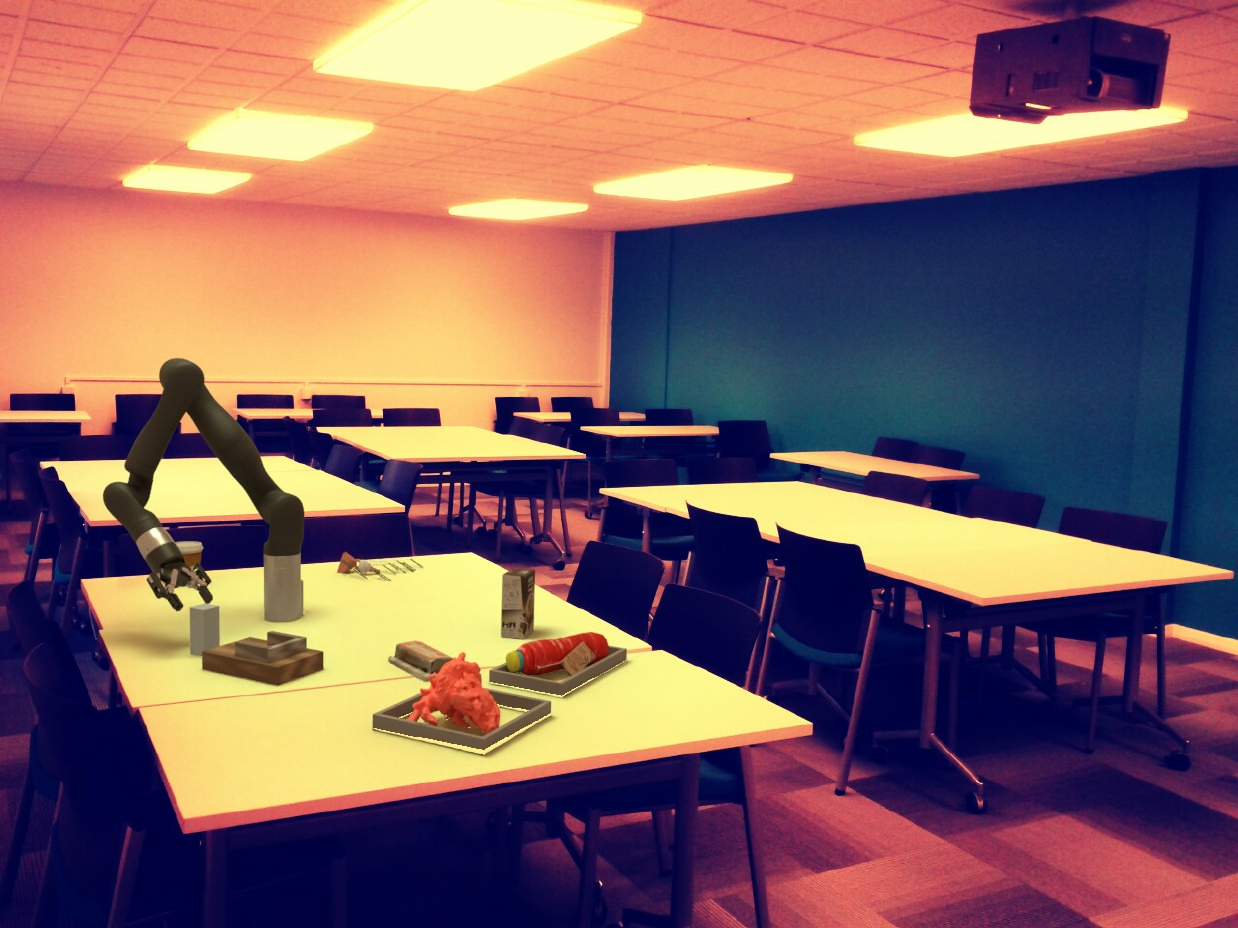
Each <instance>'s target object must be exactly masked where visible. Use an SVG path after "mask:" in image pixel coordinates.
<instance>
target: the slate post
mask: <svg viewBox="0 0 1238 928" xmlns="http://www.w3.org/2000/svg"><path fill="white" fill-rule="evenodd" d="M220 630H221V629H220V605H217V604H211V603H209V604H206V603H205V602H204V603H202V604H197V605H194V606H190V607H189V646H190V647H189V649H190V650H189V653H190V655H193V654H194V655H195V656H197V655H200V656H199V657H202V651H205V650H209V649H212V648H215V647H218V646H221V645H220V638H221V637H220V636H221V635H220V632H221V631H220ZM194 655H193V656H194Z"/></svg>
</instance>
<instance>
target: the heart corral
mask: <svg viewBox="0 0 1238 928" xmlns="http://www.w3.org/2000/svg"><path fill="white" fill-rule="evenodd" d="M485 688H486V690H488V691H489V693H490V694H491V695H492V696H493V699H494V701H495V702H496V703H497V704H499V705H503V706H507V707H512V708H521V709H526V710H529V711H527V712H523V713H522V714H520V715H518V716H516V717H515V718H514V719H511V720H509V721H507V722H506V723H504V724H502V725H501V726H500V725H499V728H497V729H495V730H493V731H491V732H490V733H488V734H486V735H484V734H483V736H481V735H476V734H473V733H467V732H464V731H460V730H459V731H458V730H454V729H450V728H446V727H441V726H438V727H437V726H433V725H431V724H429V723H425V722H424V723H423V722H419V721H417V722H415V721H410V720H408V719H405V718H399V717H401V716H404V715H406V714H409V713H411V712H413V711H414V709H413V704H414V703H417V702H419V701H420V700H421V699H422V697H421V696H420V694H422V692H419V693H417V694H414V695H412V696H410V697H407V698H406V699H403V700H401V701H399V702H397V703H395V704H392V705H389V706H388V707H386V708H383V709H382V710H379V711H377V712H374V713H373V714H372V729H373V728H377V729H381V730H386V731H390V732H395V733H400V734H404V735H408V736H413V737H422V738H428V739H433V740H437V741H442V742H447V743H451V744H457V745H462V746H467V747H471V748H476V749H482V750H485V749H486V748H488V747H490V746H491V745H493V744H495V743H497V742H498V741H500V740H502V739H504V738H505V737H509V736H510V735H512V734H514V733H515V732H517V731H519V730H520V729H522V728H524V727H526V726H528V725H530V724H532V723H533V722H535V721H538V720H539V719H541V718H543V717H544V716H547V715H548V714H550V713H551V714H552V701H550V700H548V699H546V700H545V699H542V698H536V697H531V696H528V695H527V696H526V695H522V694H517V693H512V692H508V691H507V692H506V691H501V690H497V689H491V688H487V687H485Z"/></svg>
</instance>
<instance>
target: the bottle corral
mask: <svg viewBox="0 0 1238 928" xmlns="http://www.w3.org/2000/svg"><path fill="white" fill-rule="evenodd" d="M559 638H562V637H559ZM627 651H628V649H627V648H624V647H619V646H613V645H609V653H608V656H607V657H605V658H604V659H602V660H600V661H598V662H596V663H594V664H593V665H591V666H588V667H584V668H583V669H582V670H581V671H580V672H578V673H576V674H574V675H572V676H569V677H567V678H564V679H563V680H561V681H557V680H553V679H552V680H550V679H546V678H540V677H536V676H528V675H525V674H520V673H519V672H518V671H516V672H518V673H519V674H518V673H516V672H511V671H509V670H508V668H507V665H506V662H503V663H502V664H500V665H498V666H495V667H494V668H491V669H489V675H488V681H489V682H493V683H498V684H504V685H508V686H514V687H519V688H524V689H530V690H534V691H539V692H545V693H550V694H556V695H561V696H562V695H564V694H565V693H567V692H569V691H571V690H572V689H574V688H576V687H578V686H580V685H582V684H583V683H585V682H587V681H588V680H590V679H592V678H595V677H597V676H599V675H600V674H602V673H604V672H606V671H608V670H609V669H611V668H613V667H615V666H616V665H618V664H620V663H622V662H623V661H625V660H626V661H627V659H628V658H627ZM622 664H623V663H622ZM620 665H621V664H620ZM615 668H616V667H615ZM613 669H614V668H613ZM608 672H609V671H608ZM515 673H516V674H515ZM606 673H607V672H606ZM599 677H600V676H599ZM489 682H488V683H489Z"/></svg>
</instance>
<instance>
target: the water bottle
mask: <svg viewBox="0 0 1238 928" xmlns="http://www.w3.org/2000/svg"><path fill="white" fill-rule="evenodd" d="M609 646H610V645H609V643H608V639H607V638H606V637H605V636H604V634H601V633H598V632H593V631H588V632H587V631H586V632H581V633H577V634H574V635H573V634H572V635H568V636H565V637H561V638H560V637H558V638H544V639H537V640H532V641H528V642H525V643H522V644H521V645H520V646H519V647H518V648H517V649H516V650H512V651H509V652H508V653H507V654H506V657H505V663H506V665H507V668H508V670H509V671H511V672H516V671H518V673H521V675H526V676H531V677H534V676H542V675H547V674H551V673H554V672H555V673H556V672H559V671H561V670H565V671H566V672H567V675H568V676H569V677H570V676H572V675H574V674H576V673H578V672H580V671H581V670H583V669H585V668H587V667H589V666H591V665H593V664H594V663H596V662H598V661H600V660H602V659H604V658H605V657H607V656H608V653H609Z"/></svg>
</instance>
